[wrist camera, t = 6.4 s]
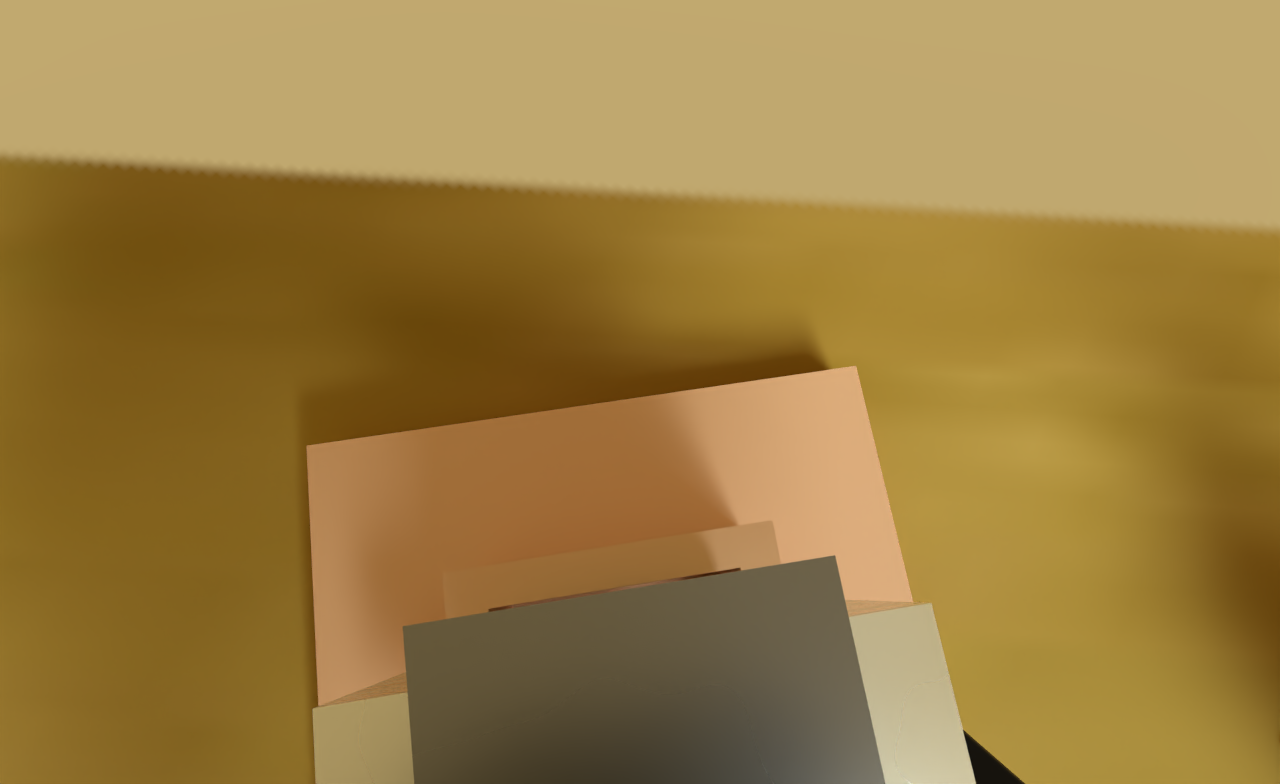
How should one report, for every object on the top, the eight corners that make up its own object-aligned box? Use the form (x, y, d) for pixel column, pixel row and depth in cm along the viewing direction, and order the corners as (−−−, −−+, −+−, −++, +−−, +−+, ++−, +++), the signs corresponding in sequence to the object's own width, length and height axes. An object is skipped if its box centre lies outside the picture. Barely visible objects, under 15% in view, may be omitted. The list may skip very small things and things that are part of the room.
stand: (973, 955, 17) (1113, 1096, 12) (362, 1082, 16) (256, 1289, 11) (839, 381, 21) (907, 318, 16) (328, 456, 20) (237, 412, 15)
